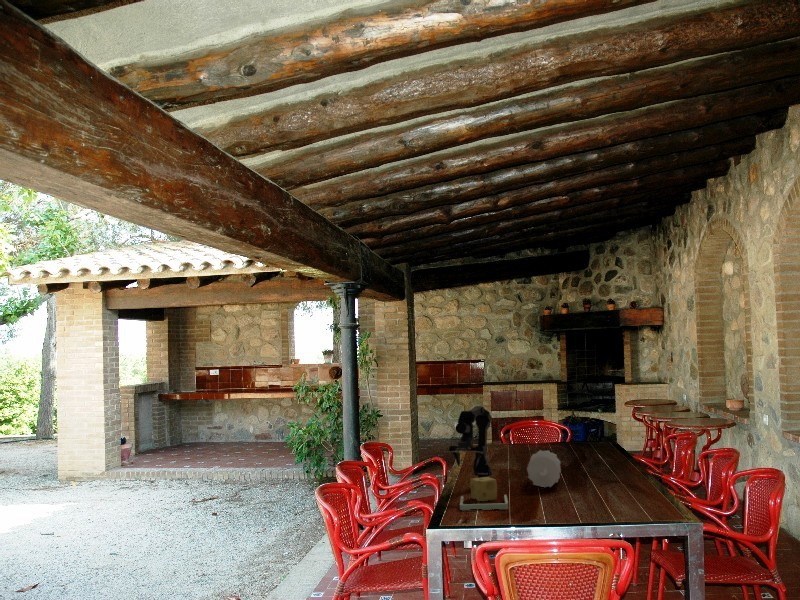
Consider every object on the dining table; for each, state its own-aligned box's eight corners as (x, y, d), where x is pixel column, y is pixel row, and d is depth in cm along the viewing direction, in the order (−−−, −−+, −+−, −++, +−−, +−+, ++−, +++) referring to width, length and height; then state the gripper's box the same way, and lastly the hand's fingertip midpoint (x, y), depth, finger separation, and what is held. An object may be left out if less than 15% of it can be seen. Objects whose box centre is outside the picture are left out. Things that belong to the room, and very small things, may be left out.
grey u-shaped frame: (461, 501, 348) (460, 496, 349) (506, 499, 346) (506, 494, 346) (460, 510, 329) (459, 505, 330) (508, 509, 327) (508, 503, 327)
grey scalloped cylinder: (554, 487, 387) (553, 495, 363) (523, 473, 392) (521, 480, 368) (566, 456, 387) (566, 462, 363) (536, 443, 392) (534, 448, 368)
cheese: (478, 502, 345) (477, 481, 345) (470, 498, 355) (469, 477, 356) (498, 499, 347) (496, 479, 348) (489, 495, 358) (488, 475, 358)
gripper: (444, 434, 360) (444, 465, 356) (479, 434, 352) (479, 466, 348) (452, 435, 370) (452, 466, 366) (486, 435, 362) (486, 467, 358)
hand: (467, 466), depth 359 cm, fingers open, 9 cm apart
